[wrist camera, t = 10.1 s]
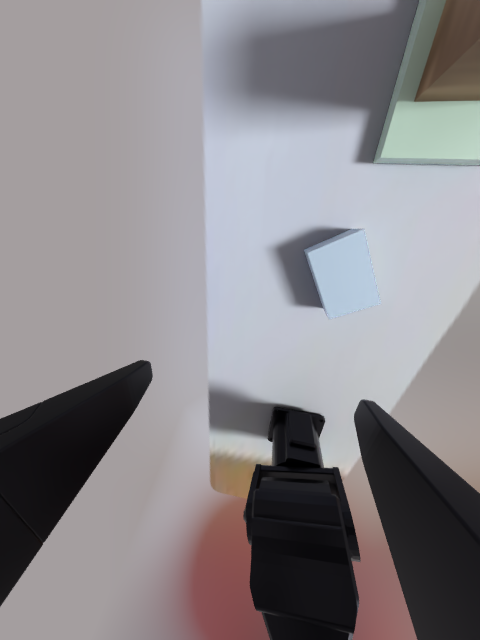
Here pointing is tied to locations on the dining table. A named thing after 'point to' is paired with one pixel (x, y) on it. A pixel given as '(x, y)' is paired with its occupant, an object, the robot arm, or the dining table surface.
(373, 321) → the dining table surface
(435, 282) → the dining table surface
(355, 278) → the brick
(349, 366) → the dining table surface
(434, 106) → the base plate
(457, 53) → the tower block
